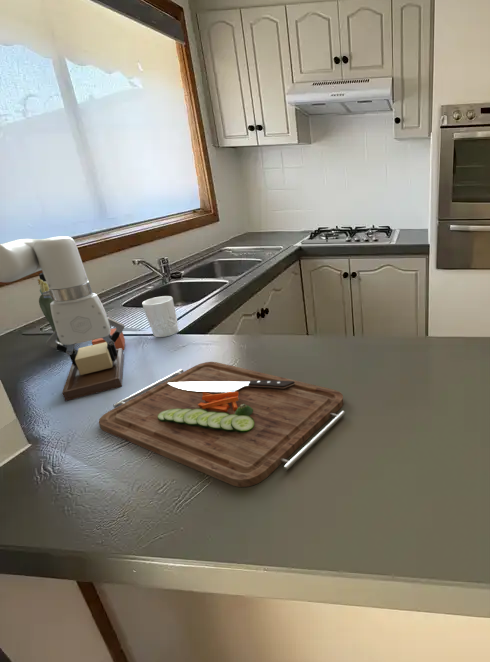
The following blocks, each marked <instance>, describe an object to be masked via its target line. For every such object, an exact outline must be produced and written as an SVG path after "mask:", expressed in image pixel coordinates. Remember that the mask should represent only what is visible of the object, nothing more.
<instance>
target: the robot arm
mask: <svg viewBox="0 0 490 662" xmlns="http://www.w3.org/2000/svg"><path fill="white" fill-rule="evenodd" d="M85 269H86V268H85V266H84V264H83V261H82V257H81V255H80V251H79V249H78V246H77V243H76V240H74V238H72V237H70V236H67V235H65V236H63V235H62V236H53V237H52V236H51V237H47V238H19V239H14V240H11V241H6V242H3V243H0V283H12V282H16V281H18V280H20V279H21V280H22V279H23V278H25V277H28V276H31V275H33V274H35V273H37V272H40V271H41V272H42V273H43V274H44V277H45V279H46V281H45V283H46V284H48V287H49V290H48V291H46V292H43V296H44V298H51V299H52V300H53V302H51V303H50V308H51V313H52V318H53V322H54V325H55V328H56V330H55V332H53V333H52V334H51V336H50V337H49V338H48V339H47V341H46V345H48V346H49V347H52V348H54V349H57V350H58V351H60V352H62V353H64V354H66V355H67V356H69V359H70V361H71V365H72V364H73V366H77V365H76V362H75V358H76V356H77V353H78V349H76V348H75V346H76V344H81V343H85V342H89V341H92V340H95V339H99V338H103V339H104V340H105V341H106V342H107V349H108V351H109V354H110V357H111V359H112V361H115V359H116V356H118V353H117V350H116V347H115V344H114V343H115V341H116V340H117V339H118V337H119V335H120V334H121V332H123V331H124V329H125V328H126V327H125V324H123V323H122V322H119V321H118V320H115V319H113V318H110V317H108V314H107V312H106V309H105V307H104V305H103V303H102V301H101V299H100V297H99V296H98V294H97V293H96V292H93V289H92V287H91V283H90V281H89V278H88V276H87V275H88V274H87V271H86V270H85ZM112 327H113V328H116V331H115V332H114V333H113V335H112V336H111V335H110V332H111V329H112ZM57 338H59V340H60V342H61V343H59V342H58V340H57ZM77 369H78V367H77Z"/></svg>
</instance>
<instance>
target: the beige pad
mask: <svg viewBox="0 0 490 662" xmlns="http://www.w3.org/2000/svg"><path fill="white" fill-rule="evenodd" d="M77 351H78V353H77V356H76V358H75V362H76V365H77V367H78V370H79V372H80V375H84V374H88V373H92V372H96V371H100V370H104V369H108V368H112V366H113V361H112V359H111V357H110V354H109V351H108V349H107V342H104V343H100V344H95V345H92V344H90V345H87V346H86V345H85V346H82V347H78V349H77Z"/></svg>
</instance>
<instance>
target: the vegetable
mask: <svg viewBox="0 0 490 662" xmlns="http://www.w3.org/2000/svg"><path fill="white" fill-rule="evenodd" d="M37 283H38V285H39V291H40V290H41V292H42V293H43V292H46V291H48V290H49V287H48V284H47V282H46V281H43V280H41V279H40V278H37ZM41 292H40V293H41ZM51 302H53V300H52V299H51V298H44V296H43V294H42V295H41V294H40V296H39V298H38V304H39V307H40V310H41V312H42V314H43V315H44V317H45V319H46V320H47V322H48V323H49V326H50V328H51V330H52V332H53V333H54V332H55V330H56V328H55V325H54V322H53V318H52V313H51V308H50V303H51ZM56 340H57V341H58V342H59V343H61V342H60V340H59V338H57V339H56Z"/></svg>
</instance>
